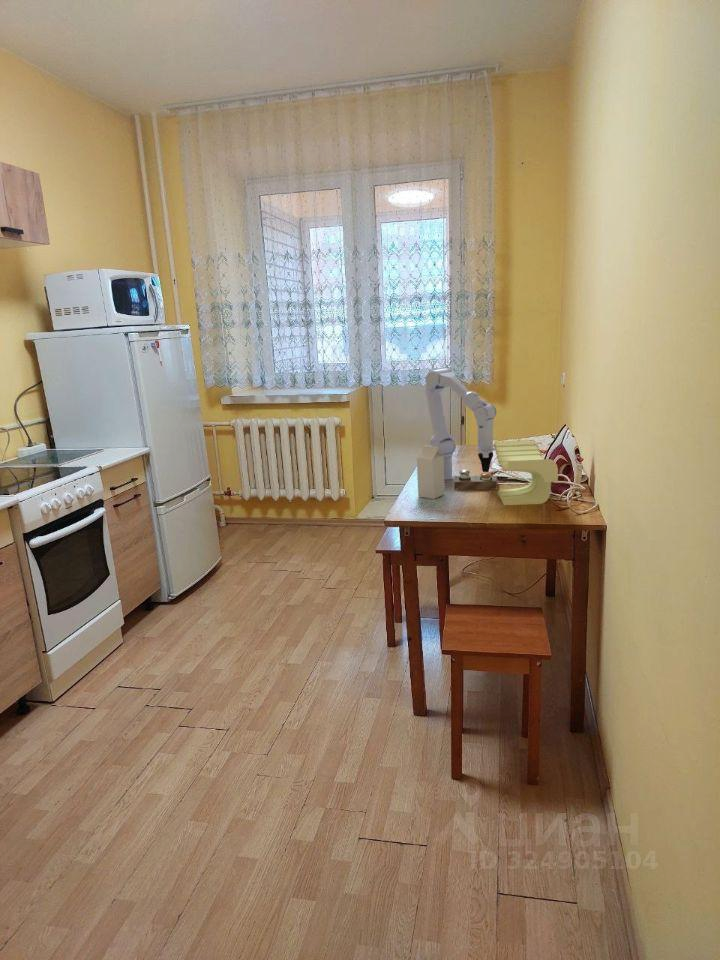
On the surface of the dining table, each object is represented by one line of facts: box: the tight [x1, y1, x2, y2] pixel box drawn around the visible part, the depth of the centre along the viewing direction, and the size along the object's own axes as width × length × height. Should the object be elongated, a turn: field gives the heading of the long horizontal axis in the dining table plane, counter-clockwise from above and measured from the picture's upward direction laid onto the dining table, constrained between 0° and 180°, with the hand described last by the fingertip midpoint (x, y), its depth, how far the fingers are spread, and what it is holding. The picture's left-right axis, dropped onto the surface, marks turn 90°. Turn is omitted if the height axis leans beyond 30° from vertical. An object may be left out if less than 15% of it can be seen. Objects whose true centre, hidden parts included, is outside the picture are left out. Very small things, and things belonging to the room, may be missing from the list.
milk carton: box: [416, 444, 446, 500], centre depth 217 cm, size 7×7×19 cm
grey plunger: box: [459, 468, 471, 480], centre depth 228 cm, size 4×4×4 cm
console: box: [453, 475, 498, 490], centre depth 228 cm, size 16×8×3 cm, turn 79°
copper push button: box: [480, 472, 492, 480], centre depth 226 cm, size 4×4×4 cm
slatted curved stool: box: [494, 439, 559, 506], centre depth 207 cm, size 30×16×18 cm, turn 175°
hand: (485, 471), depth 226 cm, fingers closed
